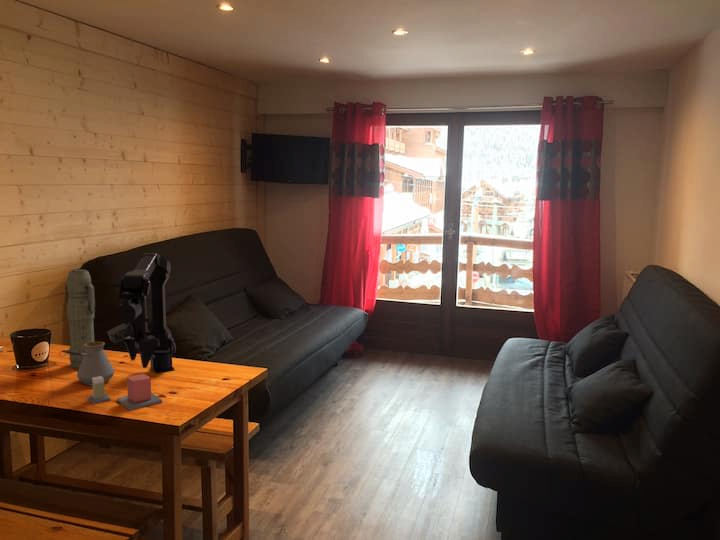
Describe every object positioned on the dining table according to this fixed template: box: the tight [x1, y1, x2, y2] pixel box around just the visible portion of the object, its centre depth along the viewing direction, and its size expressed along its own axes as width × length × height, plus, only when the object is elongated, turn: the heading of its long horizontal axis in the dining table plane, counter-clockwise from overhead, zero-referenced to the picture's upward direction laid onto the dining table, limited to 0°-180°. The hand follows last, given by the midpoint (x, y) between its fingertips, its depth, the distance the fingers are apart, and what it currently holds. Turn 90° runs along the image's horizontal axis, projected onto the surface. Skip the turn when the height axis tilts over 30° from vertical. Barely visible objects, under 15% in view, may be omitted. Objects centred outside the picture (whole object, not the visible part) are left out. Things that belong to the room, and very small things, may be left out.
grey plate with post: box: [116, 392, 163, 411], centre depth 178 cm, size 10×10×7 cm
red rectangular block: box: [126, 373, 152, 403], centre depth 178 cm, size 5×5×7 cm
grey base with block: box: [87, 376, 111, 405], centre depth 179 cm, size 5×5×7 cm
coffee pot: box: [58, 341, 115, 386], centre depth 190 cm, size 21×12×15 cm, turn 168°
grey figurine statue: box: [64, 268, 96, 370], centre depth 210 cm, size 9×12×35 cm
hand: (138, 363), depth 181 cm, fingers open, 9 cm apart
